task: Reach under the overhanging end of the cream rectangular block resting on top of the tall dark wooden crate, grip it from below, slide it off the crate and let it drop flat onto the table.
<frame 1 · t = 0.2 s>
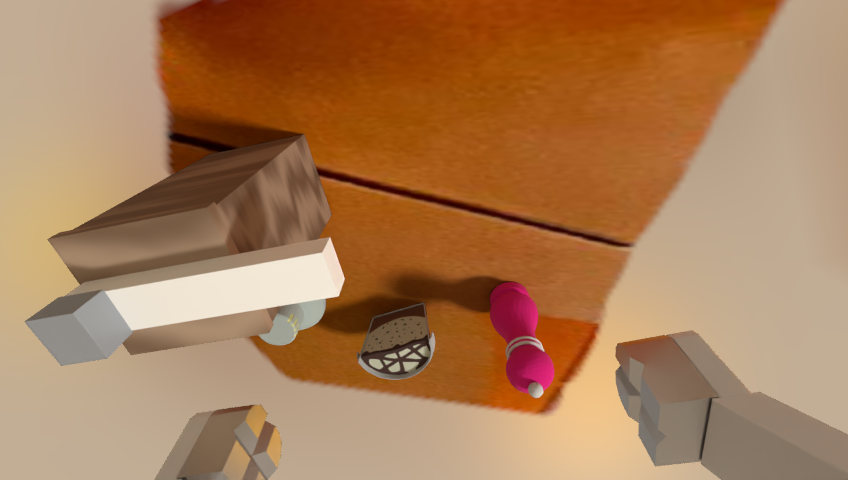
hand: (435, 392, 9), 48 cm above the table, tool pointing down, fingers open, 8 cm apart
pepper mill: (508, 296, 66), on the table
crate: (272, 185, 57), on the table
air freshener: (296, 289, 66), on the table
cream rectangular block: (213, 280, 34), point 26 cm above the table, touching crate
food container: (404, 322, 69), on the table
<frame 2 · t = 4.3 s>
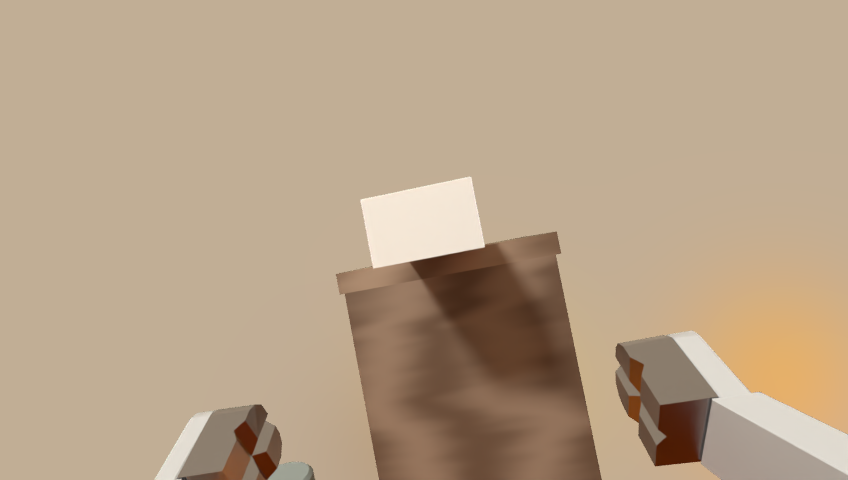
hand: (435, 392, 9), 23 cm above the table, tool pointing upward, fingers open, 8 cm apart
cream rectangular block: (445, 252, 25), point 26 cm above the table, touching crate
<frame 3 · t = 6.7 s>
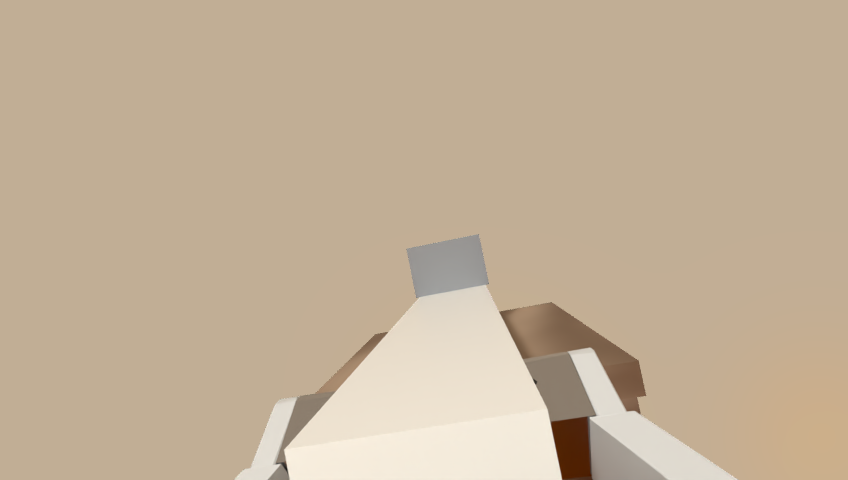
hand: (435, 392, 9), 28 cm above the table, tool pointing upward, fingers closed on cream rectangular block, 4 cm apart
cream rectangular block: (458, 368, 17), point 26 cm above the table, touching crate, gripper
when the fingers open (19 cm above the table, at t = 12.8 s): cream rectangular block drops 17 cm, on the table.
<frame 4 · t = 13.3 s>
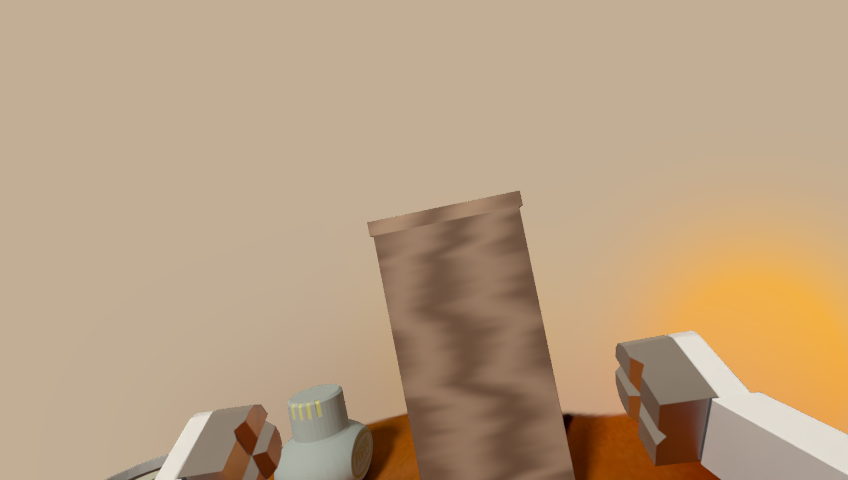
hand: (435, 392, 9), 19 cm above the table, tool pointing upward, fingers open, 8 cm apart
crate: (499, 477, 39), on the table
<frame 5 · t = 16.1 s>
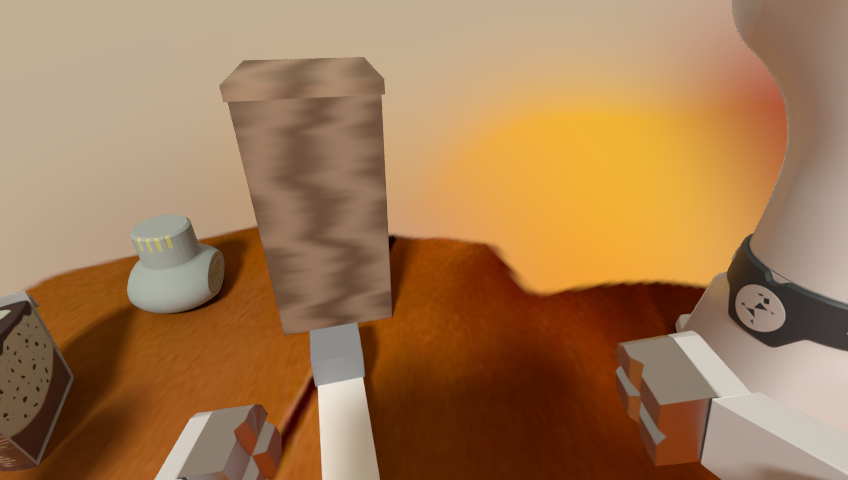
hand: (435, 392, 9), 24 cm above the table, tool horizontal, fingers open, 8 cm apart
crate: (336, 288, 51), on the table
air freshener: (187, 297, 50), on the table
cream rectangular block: (351, 473, 32), on the table
food container: (15, 430, 34), on the table
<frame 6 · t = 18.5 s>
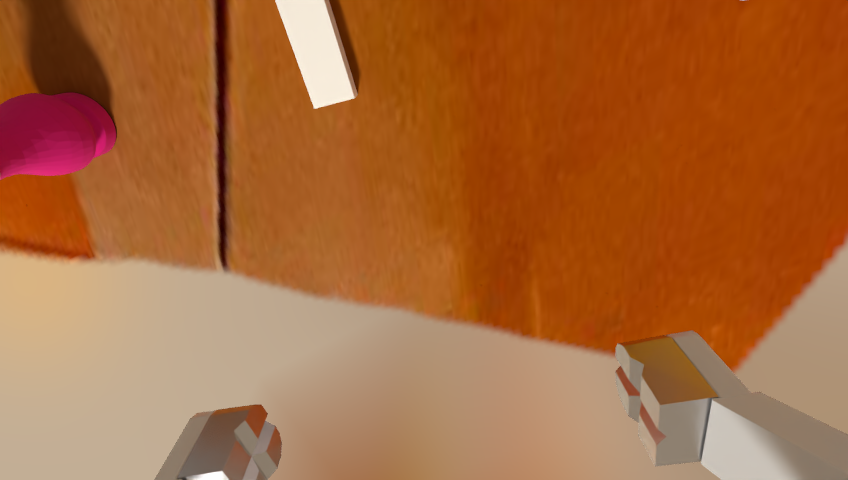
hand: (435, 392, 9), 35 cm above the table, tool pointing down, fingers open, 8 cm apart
pepper mill: (85, 124, 41), on the table
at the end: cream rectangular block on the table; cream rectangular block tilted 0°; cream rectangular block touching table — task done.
